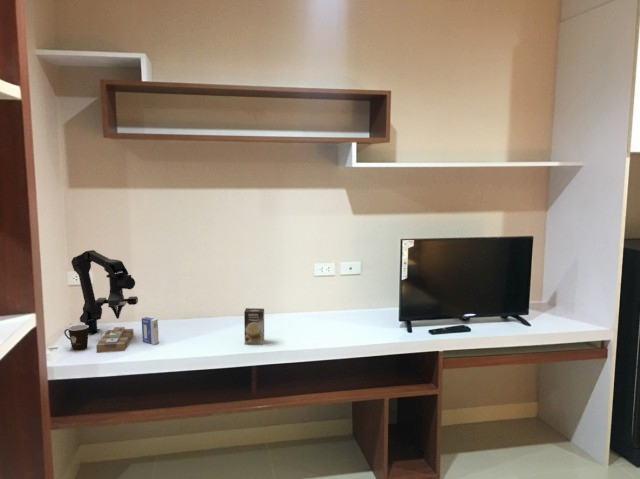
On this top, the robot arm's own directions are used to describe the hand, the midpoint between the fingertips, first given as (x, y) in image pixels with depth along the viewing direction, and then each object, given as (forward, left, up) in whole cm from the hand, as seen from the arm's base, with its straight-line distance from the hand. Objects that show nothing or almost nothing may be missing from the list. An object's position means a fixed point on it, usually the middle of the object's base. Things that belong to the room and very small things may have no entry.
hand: (117, 318), depth 250 cm
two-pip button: (0, 0, -8) cm, 8 cm away
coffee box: (+17, +65, -10) cm, 68 cm away
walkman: (+8, +16, -10) cm, 21 cm away
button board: (+7, 0, -10) cm, 12 cm away
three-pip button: (+7, 0, -8) cm, 11 cm away
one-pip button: (+14, 0, -9) cm, 17 cm away
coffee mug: (+10, -16, -10) cm, 21 cm away
